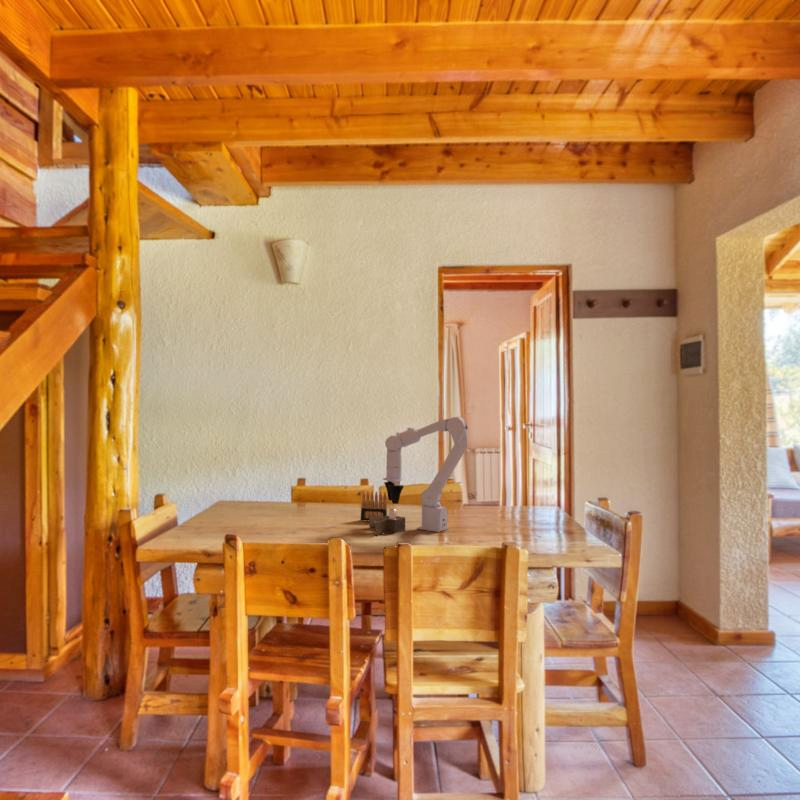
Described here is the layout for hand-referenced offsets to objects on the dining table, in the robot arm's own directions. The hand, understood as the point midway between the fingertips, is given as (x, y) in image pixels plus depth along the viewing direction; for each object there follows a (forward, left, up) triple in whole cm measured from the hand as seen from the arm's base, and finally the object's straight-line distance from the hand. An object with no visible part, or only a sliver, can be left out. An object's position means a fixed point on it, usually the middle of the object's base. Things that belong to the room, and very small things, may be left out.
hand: (393, 501), depth 233 cm
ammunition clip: (+12, -4, -10) cm, 16 cm away
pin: (-4, +7, -9) cm, 13 cm away
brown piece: (-1, +10, -9) cm, 14 cm away
